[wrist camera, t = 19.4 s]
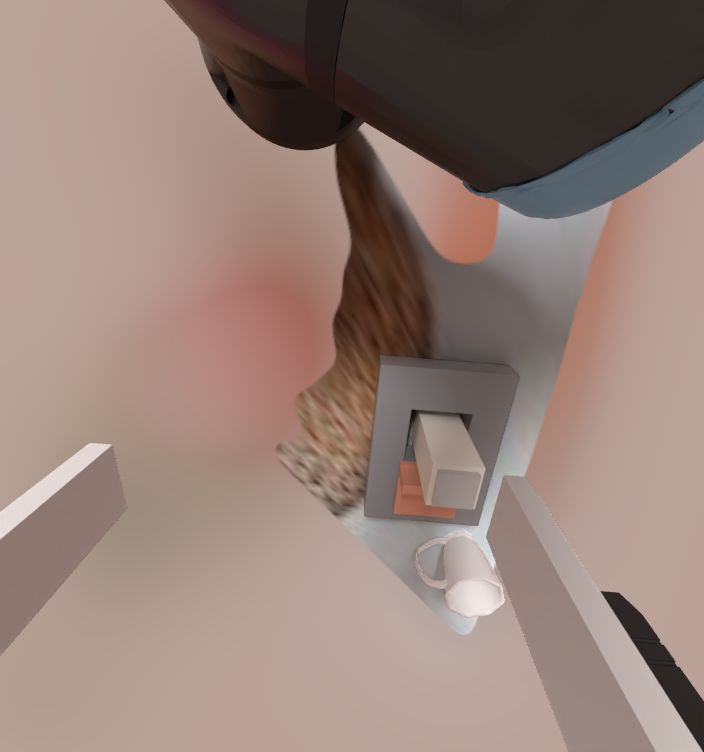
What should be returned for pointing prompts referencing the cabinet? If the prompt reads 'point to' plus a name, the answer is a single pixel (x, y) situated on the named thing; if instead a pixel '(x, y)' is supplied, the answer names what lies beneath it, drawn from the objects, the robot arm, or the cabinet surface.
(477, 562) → the cup
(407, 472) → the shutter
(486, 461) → the socket
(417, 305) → the cabinet surface
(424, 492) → the plug
